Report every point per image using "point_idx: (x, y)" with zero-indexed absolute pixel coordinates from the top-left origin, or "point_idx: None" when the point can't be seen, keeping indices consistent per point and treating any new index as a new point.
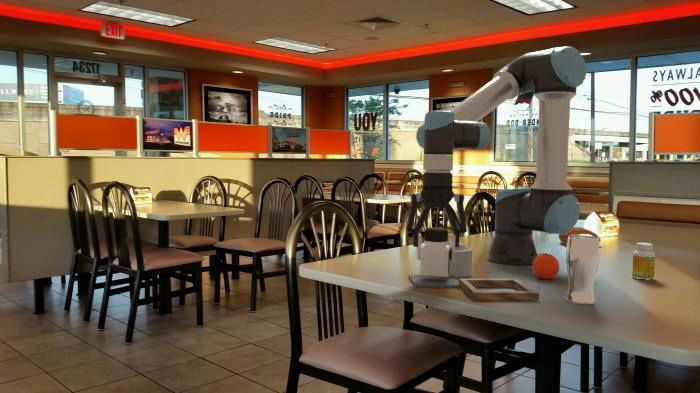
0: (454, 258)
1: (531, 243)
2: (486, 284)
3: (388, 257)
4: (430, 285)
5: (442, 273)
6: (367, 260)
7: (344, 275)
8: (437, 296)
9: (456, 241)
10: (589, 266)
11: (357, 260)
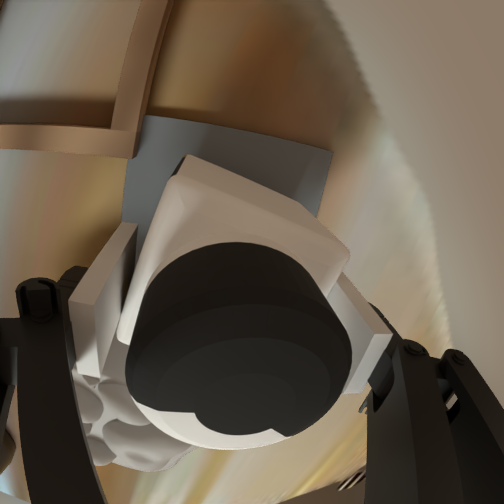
0: (121, 225)
1: None
2: (42, 124)
3: (238, 488)
4: (274, 137)
5: (212, 164)
6: (299, 468)
7: (435, 336)
8: (301, 6)
9: (73, 290)
10: None
11: (321, 465)
